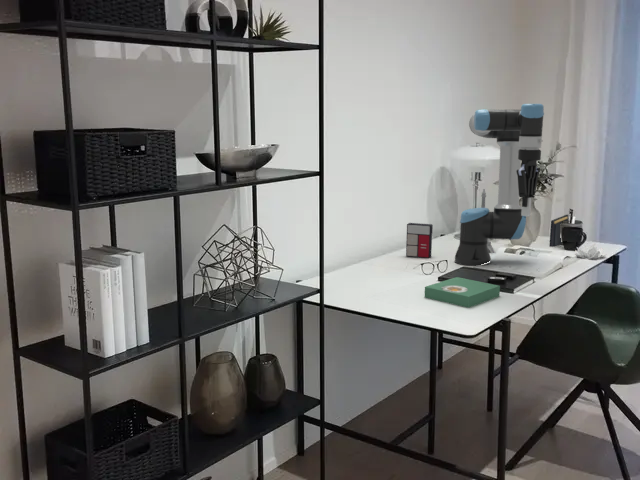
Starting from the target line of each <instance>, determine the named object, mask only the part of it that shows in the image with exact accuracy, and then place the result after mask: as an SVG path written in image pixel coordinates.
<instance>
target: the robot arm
mask: <svg viewBox="0 0 640 480" xmlns="http://www.w3.org/2000/svg"><path fill="white" fill-rule="evenodd" d="M544 107H545V106H544V105H543V104H542V103H523V104H521V108H520V109H487V108H483V109H476V110H475V112H474V114H473V115H472V116H471V117H470V119H469V123H468V126H469V129H470V131H471V133H473V134H474V135H476V136H478V137H482V138H486V139H496V144H497V145H498V146H499V149H500V150H499V167H498V169H499V170H498V171H499V173H498V194H497V195H498V196H497V204H496V205H495V206H494V207H493V211H490V209H489V208H488V207H485V208H481V207H474V208H469V209H465V210H463V211H462V212H461V214H460V221H459V223H460V227H459V229H460V231H459V244H458V248H457V250H456V252H455V256H454V262H455V263H456V264H459V265H462V266H472V267H477V266H476V265H481V264H484V263H487V262H489V261H490V260H491V259H492V258H491V253H490V250H489V249H488V247H487V240H488V239H490V240H509V241H511V240H520V239H521V238H522V237H523V235H524V232H525V230H526V225H527V224H526V223H527V217H531V208H532V198H535V195H536V192H537V186H538V185H537V184H538V179H539V174H540V172H541V168H540V167H538V163H537V162H538V161H540V160H541V159H542V157H541V156H542V150H541V148H542V142H543V139H542V138H543V127H544V126H543V124H544V122H543V121H544V116H545V112H544ZM520 198H521V205H520Z"/></svg>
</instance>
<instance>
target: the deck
mask: <svg viewBox="0 0 640 480" xmlns="http://www.w3.org/2000/svg"><path fill="white" fill-rule="evenodd" d="M453 289H457V290H458V291H451V290H453ZM500 290H501V285H498V284H492V283H488V282H483V281H478V280H473V279H468V278H464V277H463V278H462V277H459V276H456V277H453V278H449V279H446V280H442V281H438V282H437V283H433V284H430V285H426V286H424V298H427V299H431V300H434V301H438V302H443V303H447V304H451V305H455V306H460V307H463V308H472V307H474V306H477V305H480V304H483V303H485V302H487V301H490V300H493V299H495V298H496V299H497V298H498V297H500V294H501V293H500V292H501V291H500Z"/></svg>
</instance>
